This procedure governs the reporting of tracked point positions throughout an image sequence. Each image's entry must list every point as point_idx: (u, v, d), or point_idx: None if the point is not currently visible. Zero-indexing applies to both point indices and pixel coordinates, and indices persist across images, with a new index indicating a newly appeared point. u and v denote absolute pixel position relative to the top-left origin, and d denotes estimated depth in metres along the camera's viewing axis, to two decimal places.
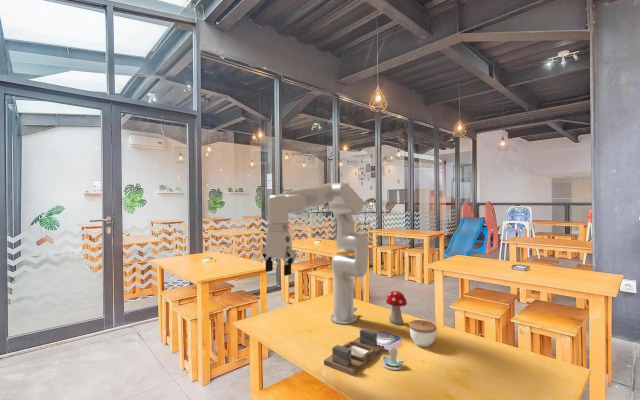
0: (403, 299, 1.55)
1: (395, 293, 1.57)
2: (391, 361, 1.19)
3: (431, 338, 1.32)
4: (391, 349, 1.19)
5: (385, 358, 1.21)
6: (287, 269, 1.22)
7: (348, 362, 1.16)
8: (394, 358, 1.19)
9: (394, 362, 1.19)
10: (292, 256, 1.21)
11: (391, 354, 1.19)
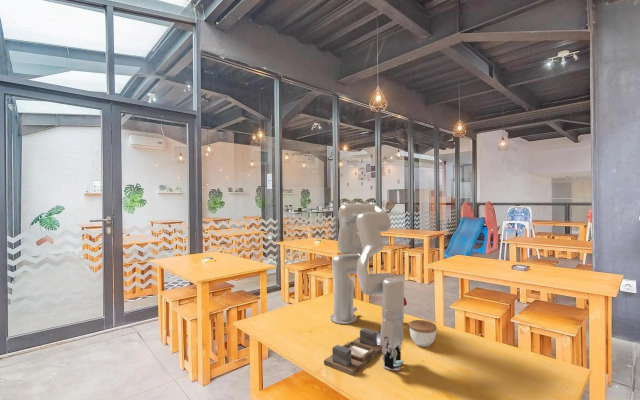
0: None
1: None
2: None
3: (431, 338, 1.32)
4: None
5: None
6: None
7: (348, 362, 1.16)
8: (394, 358, 1.18)
9: (394, 362, 1.18)
10: None
11: None
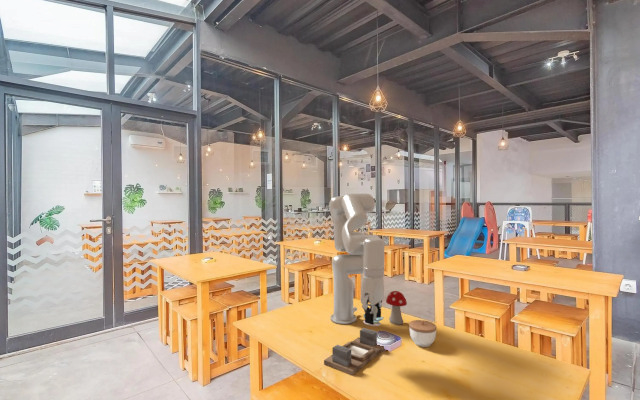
0: (403, 299, 1.55)
1: (395, 293, 1.57)
2: None
3: (431, 338, 1.32)
4: None
5: None
6: None
7: (348, 362, 1.16)
8: (374, 315, 1.22)
9: (374, 319, 1.22)
10: None
11: None
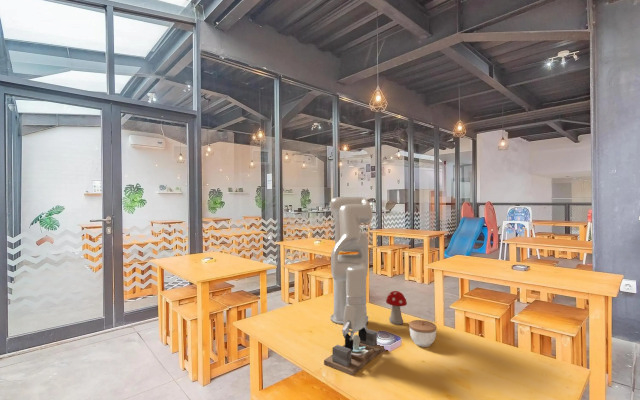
0: (403, 299, 1.55)
1: (395, 293, 1.57)
2: (354, 348, 1.26)
3: (431, 338, 1.32)
4: (354, 336, 1.26)
5: None
6: None
7: (348, 362, 1.16)
8: (357, 345, 1.25)
9: (357, 349, 1.25)
10: (367, 319, 1.31)
11: (354, 341, 1.26)
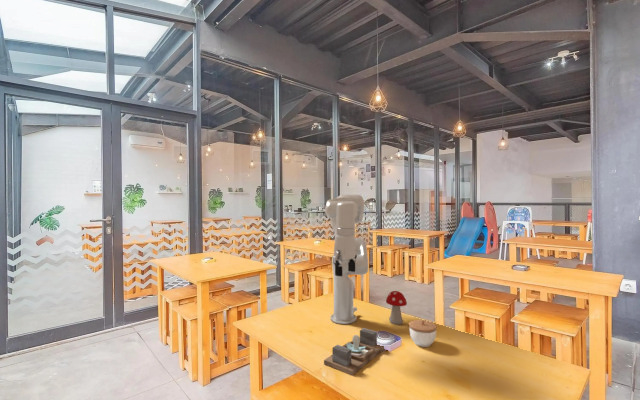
0: (403, 299, 1.55)
1: (395, 293, 1.57)
2: (354, 348, 1.26)
3: (431, 338, 1.32)
4: (354, 336, 1.26)
5: (349, 345, 1.27)
6: None
7: (348, 362, 1.16)
8: (357, 345, 1.25)
9: (357, 349, 1.25)
10: (356, 253, 1.43)
11: (354, 341, 1.25)
